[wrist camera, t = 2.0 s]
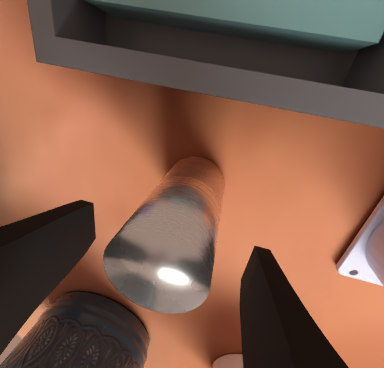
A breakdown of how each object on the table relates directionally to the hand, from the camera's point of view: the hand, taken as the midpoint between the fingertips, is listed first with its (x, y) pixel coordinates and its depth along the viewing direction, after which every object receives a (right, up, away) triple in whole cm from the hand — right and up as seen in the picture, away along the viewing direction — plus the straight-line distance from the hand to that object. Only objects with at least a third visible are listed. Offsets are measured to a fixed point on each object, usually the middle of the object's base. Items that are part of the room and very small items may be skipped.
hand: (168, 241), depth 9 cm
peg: (+1, +3, +5) cm, 6 cm away
